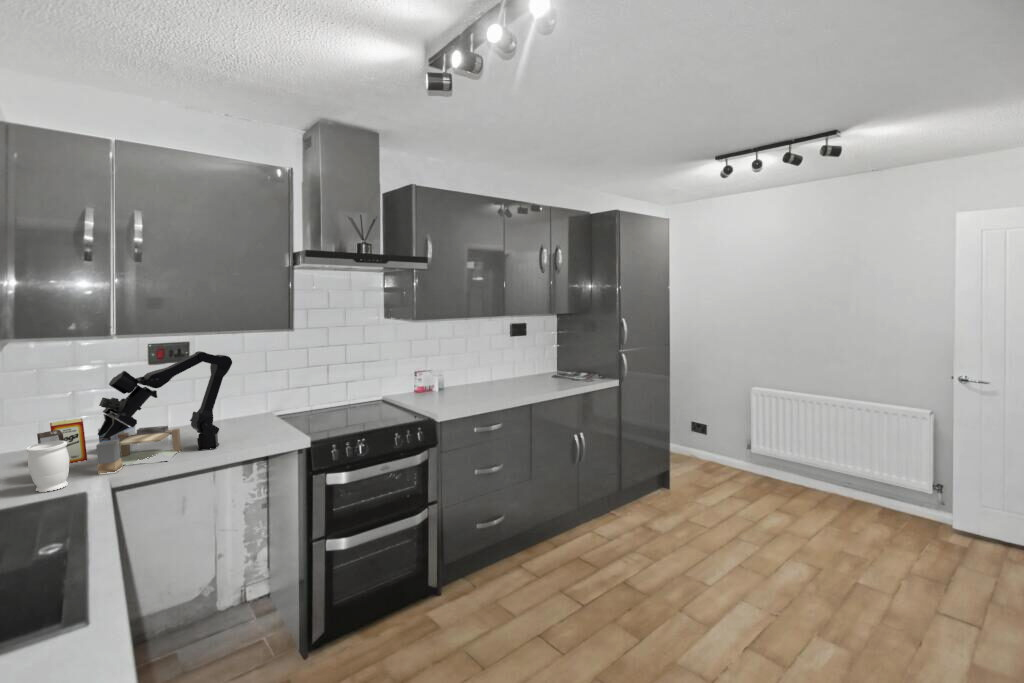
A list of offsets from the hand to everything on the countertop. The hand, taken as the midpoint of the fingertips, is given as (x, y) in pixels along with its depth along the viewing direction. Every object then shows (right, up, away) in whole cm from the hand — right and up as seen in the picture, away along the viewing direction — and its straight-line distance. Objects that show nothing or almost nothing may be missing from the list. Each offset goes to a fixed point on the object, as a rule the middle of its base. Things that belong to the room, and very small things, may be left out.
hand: (101, 436), depth 188 cm
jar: (-7, -15, -12) cm, 21 cm away
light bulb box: (-14, -11, +27) cm, 32 cm away
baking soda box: (-24, -13, +15) cm, 31 cm away
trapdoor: (+4, -4, +18) cm, 19 cm away
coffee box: (-15, -14, -2) cm, 21 cm away
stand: (+5, -12, +17) cm, 21 cm away
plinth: (+1, -13, +3) cm, 14 cm away
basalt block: (+1, -9, +2) cm, 10 cm away
